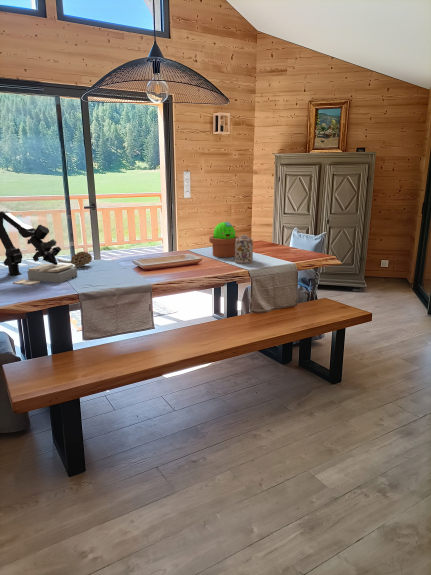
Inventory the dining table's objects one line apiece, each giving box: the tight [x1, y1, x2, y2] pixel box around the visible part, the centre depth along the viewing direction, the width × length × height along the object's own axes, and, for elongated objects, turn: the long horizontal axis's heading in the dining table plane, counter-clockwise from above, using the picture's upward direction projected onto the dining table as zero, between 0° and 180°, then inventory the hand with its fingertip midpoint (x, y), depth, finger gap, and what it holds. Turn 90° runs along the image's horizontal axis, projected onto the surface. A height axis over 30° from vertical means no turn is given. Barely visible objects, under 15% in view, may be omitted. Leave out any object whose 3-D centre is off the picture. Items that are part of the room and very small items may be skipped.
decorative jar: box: [234, 234, 254, 264], centre depth 283 cm, size 12×12×18 cm
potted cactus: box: [208, 221, 241, 258], centre depth 303 cm, size 22×22×25 cm
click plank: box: [39, 263, 74, 272], centre depth 241 cm, size 13×14×1 cm
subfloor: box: [27, 263, 78, 283], centre depth 243 cm, size 22×16×6 cm
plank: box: [12, 278, 42, 286], centre depth 233 cm, size 13×7×1 cm, turn 71°
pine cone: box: [56, 251, 93, 268], centre depth 270 cm, size 22×10×10 cm, turn 111°
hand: (56, 264), depth 241 cm, fingers closed
